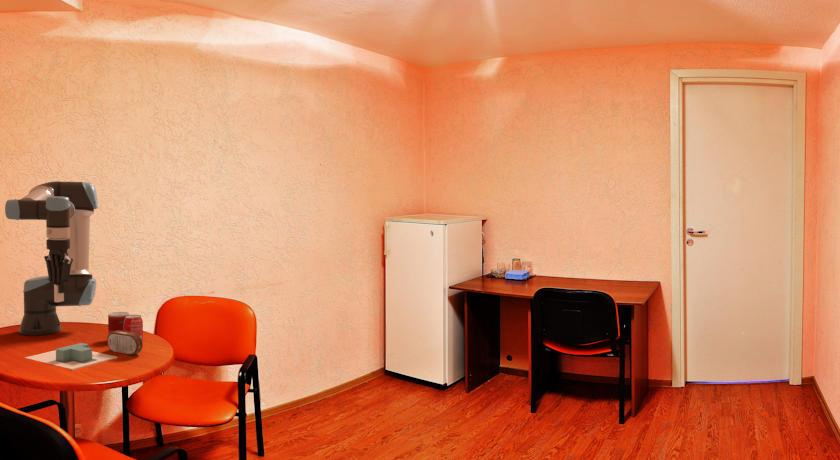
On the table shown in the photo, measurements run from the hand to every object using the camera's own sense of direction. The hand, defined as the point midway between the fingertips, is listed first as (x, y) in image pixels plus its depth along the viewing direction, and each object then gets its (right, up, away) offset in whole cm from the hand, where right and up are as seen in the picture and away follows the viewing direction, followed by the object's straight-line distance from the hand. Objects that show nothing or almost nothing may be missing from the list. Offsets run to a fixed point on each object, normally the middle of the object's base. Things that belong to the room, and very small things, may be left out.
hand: (59, 301), depth 232 cm
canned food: (+11, -19, +24) cm, 32 cm away
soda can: (+20, -20, +16) cm, 33 cm away
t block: (+10, -20, -5) cm, 23 cm away
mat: (+6, -21, -3) cm, 22 cm away
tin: (+22, -21, +6) cm, 30 cm away
